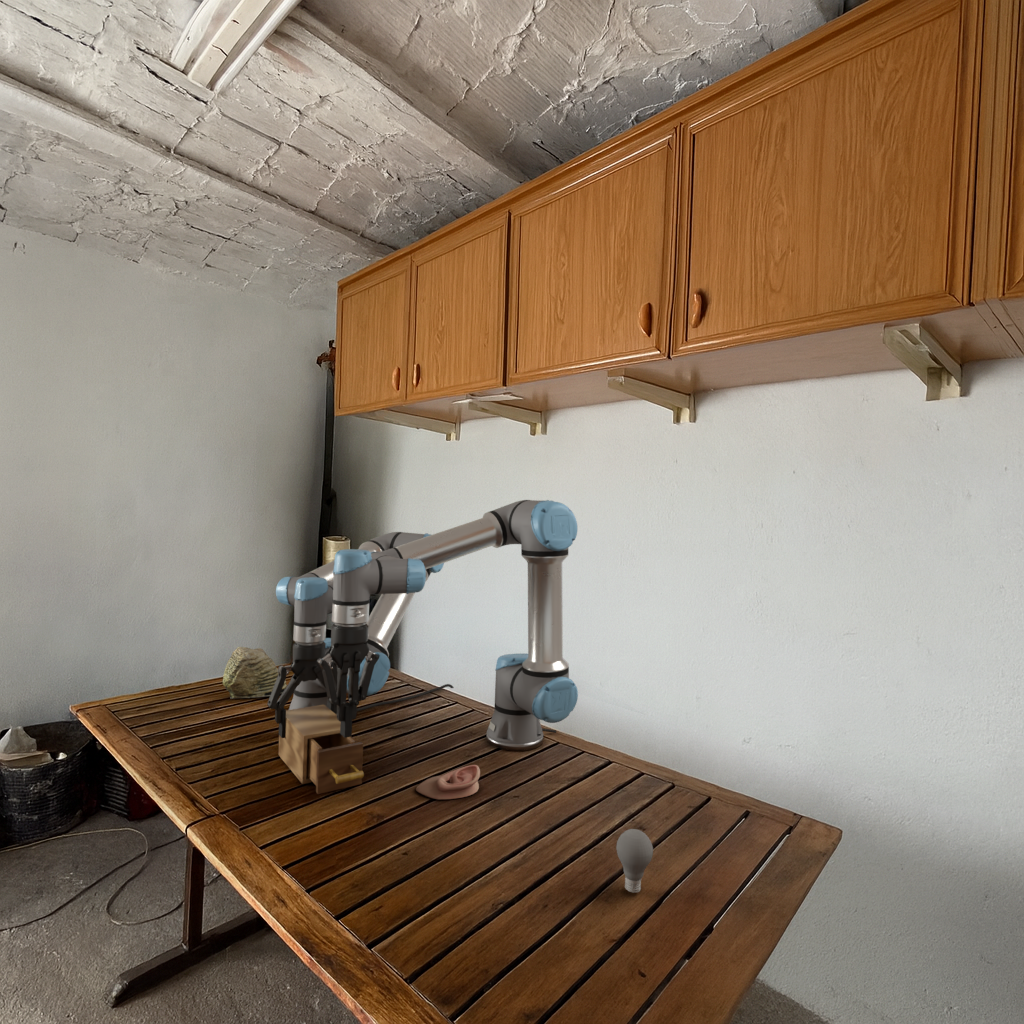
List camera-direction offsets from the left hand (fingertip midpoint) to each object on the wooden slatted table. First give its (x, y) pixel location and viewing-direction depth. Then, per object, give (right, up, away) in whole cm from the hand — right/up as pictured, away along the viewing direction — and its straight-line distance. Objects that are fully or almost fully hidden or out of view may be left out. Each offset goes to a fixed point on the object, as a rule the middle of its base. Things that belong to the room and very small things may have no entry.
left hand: (306, 731), depth 154 cm
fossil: (-31, -4, +44) cm, 54 cm away
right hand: (+15, +7, -21) cm, 27 cm away
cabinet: (+3, -6, -5) cm, 8 cm away
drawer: (+10, -6, -14) cm, 18 cm away
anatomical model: (+36, -8, -14) cm, 39 cm away
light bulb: (+70, -10, -48) cm, 86 cm away
